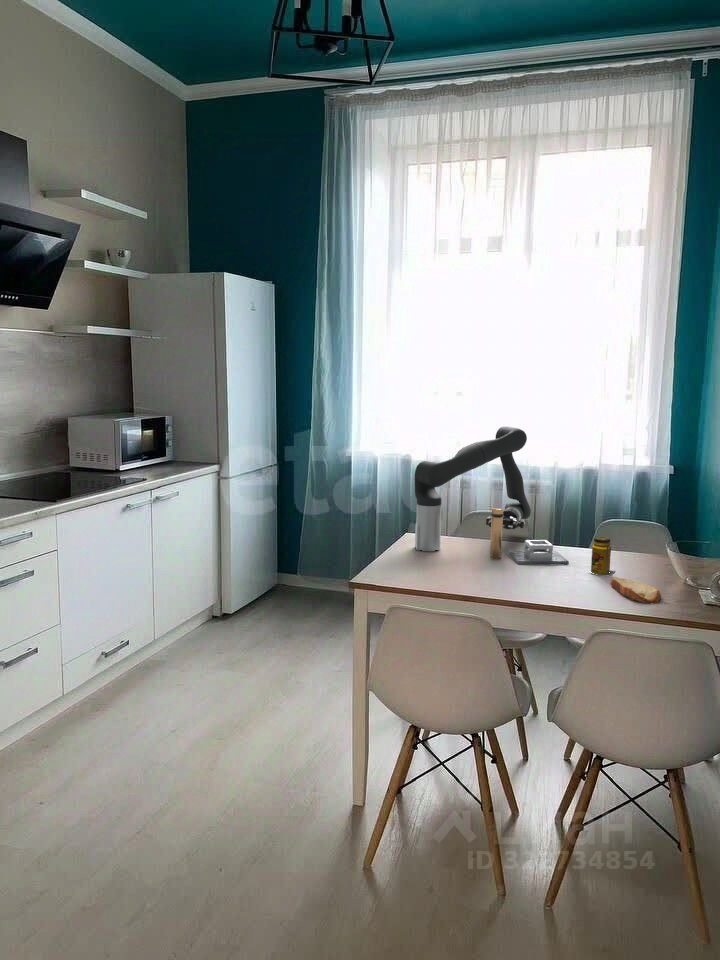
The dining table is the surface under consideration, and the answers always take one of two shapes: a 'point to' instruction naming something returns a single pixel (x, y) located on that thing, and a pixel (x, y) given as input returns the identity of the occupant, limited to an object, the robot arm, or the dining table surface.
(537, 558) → the grey socket base
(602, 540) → the condiment
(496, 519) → the wooden peg
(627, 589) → the slice of bread
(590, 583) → the dining table surface
